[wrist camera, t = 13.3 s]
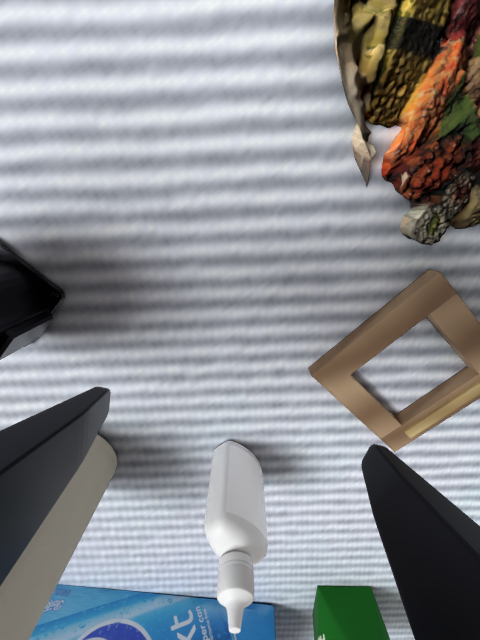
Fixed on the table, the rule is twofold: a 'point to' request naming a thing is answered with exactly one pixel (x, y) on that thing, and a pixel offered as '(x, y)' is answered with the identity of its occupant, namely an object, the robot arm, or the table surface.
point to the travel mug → (54, 544)
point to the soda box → (144, 617)
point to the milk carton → (347, 614)
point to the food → (417, 103)
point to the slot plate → (383, 329)
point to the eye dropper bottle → (236, 525)
